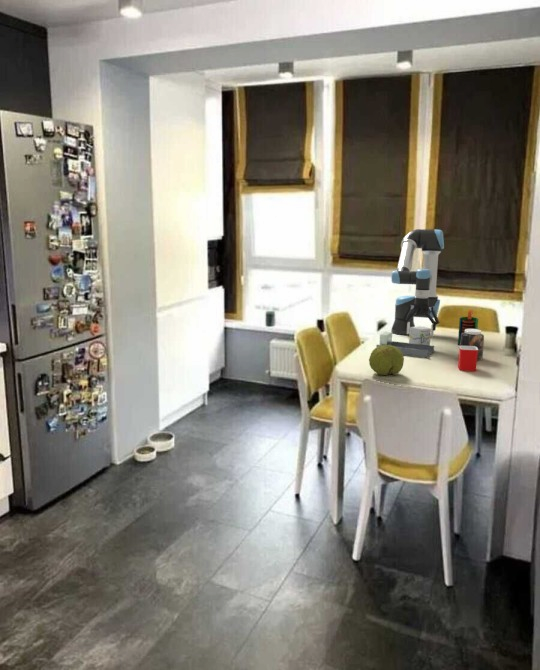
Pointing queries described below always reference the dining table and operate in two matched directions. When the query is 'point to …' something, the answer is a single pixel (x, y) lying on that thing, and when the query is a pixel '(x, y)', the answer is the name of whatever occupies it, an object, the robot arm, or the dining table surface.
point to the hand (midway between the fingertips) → (419, 335)
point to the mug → (467, 358)
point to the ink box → (420, 335)
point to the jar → (473, 341)
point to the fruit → (386, 360)
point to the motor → (467, 324)
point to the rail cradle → (406, 346)
